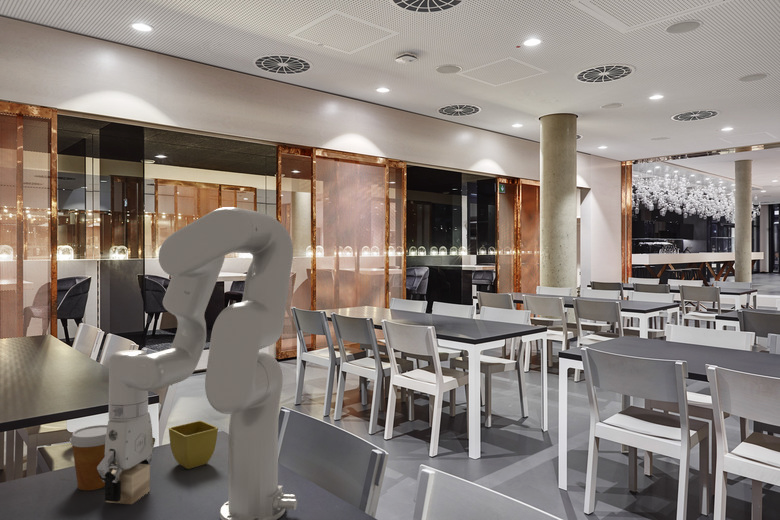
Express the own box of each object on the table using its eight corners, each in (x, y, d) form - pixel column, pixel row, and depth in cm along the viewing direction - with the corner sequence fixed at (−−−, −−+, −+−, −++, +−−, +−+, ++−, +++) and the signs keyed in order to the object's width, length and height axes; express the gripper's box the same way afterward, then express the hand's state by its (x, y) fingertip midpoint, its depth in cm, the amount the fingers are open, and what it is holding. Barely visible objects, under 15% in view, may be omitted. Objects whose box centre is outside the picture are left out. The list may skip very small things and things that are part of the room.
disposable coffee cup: (59, 488, 117) (60, 433, 117) (101, 473, 125) (101, 421, 125) (86, 497, 112) (87, 440, 112) (127, 481, 121) (127, 428, 121)
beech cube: (149, 492, 115) (149, 464, 115) (131, 504, 110) (131, 475, 110) (124, 490, 116) (124, 462, 116) (105, 502, 111) (105, 473, 111)
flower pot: (218, 464, 131) (219, 427, 131) (185, 474, 125) (185, 436, 125) (200, 455, 137) (200, 420, 137) (167, 464, 131) (167, 428, 131)
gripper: (117, 422, 104) (116, 511, 104) (168, 399, 121) (167, 475, 121) (82, 420, 105) (82, 507, 105) (138, 398, 122) (137, 473, 122)
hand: (128, 490), depth 113 cm, fingers open, 9 cm apart
